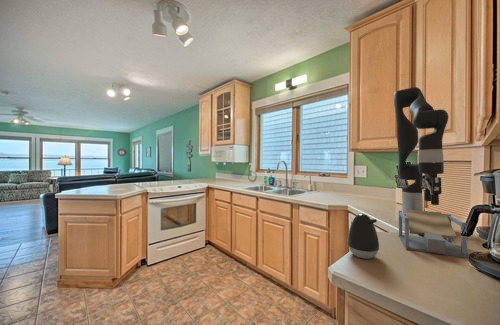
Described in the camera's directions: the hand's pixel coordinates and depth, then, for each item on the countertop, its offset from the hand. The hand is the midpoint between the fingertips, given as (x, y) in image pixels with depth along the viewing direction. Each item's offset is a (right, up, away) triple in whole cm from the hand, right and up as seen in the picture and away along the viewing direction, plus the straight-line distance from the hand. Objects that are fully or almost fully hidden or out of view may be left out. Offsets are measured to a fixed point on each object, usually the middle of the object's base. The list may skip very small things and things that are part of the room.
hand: (431, 202), depth 84 cm
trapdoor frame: (+2, -18, +3) cm, 18 cm away
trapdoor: (+3, -12, +6) cm, 13 cm away
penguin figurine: (-30, -18, -6) cm, 35 cm away
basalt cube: (0, -14, -1) cm, 14 cm away
